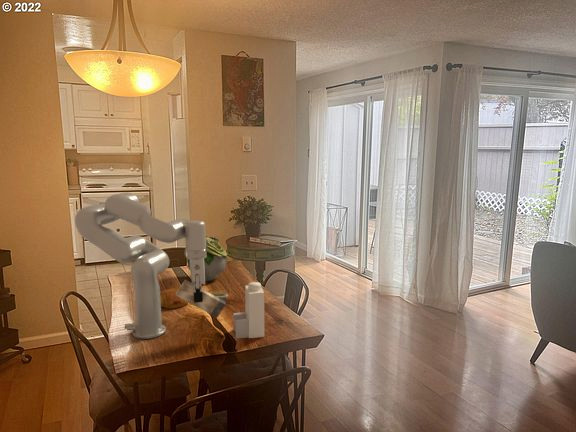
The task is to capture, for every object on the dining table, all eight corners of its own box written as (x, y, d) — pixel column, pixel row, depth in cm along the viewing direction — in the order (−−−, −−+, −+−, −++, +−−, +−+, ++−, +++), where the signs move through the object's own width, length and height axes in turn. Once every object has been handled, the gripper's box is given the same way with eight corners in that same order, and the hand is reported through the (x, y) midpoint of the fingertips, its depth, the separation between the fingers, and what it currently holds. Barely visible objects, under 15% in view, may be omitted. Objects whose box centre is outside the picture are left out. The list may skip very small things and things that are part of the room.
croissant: (156, 305, 202) (152, 289, 200) (188, 296, 208) (185, 281, 206) (159, 315, 189) (155, 298, 187) (193, 306, 194) (190, 289, 193)
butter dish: (237, 308, 193) (237, 295, 192) (197, 310, 191) (197, 297, 190) (236, 299, 205) (236, 286, 204) (199, 301, 202) (198, 288, 201)
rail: (176, 295, 156) (184, 282, 156) (176, 292, 160) (184, 279, 160) (217, 317, 161) (225, 304, 161) (216, 314, 164) (224, 301, 164)
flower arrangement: (175, 282, 230) (174, 238, 226) (201, 270, 252) (200, 230, 249) (214, 288, 220) (213, 243, 216) (237, 275, 243) (237, 234, 239)
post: (236, 339, 161) (235, 289, 158) (233, 328, 171) (232, 281, 167) (264, 336, 164) (264, 287, 160) (260, 326, 173) (259, 279, 170)
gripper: (207, 258, 150) (209, 307, 153) (205, 248, 166) (207, 292, 169) (185, 259, 149) (188, 308, 151) (186, 249, 164) (188, 294, 167)
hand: (198, 299), depth 160 cm, fingers closed on rail, 3 cm apart
